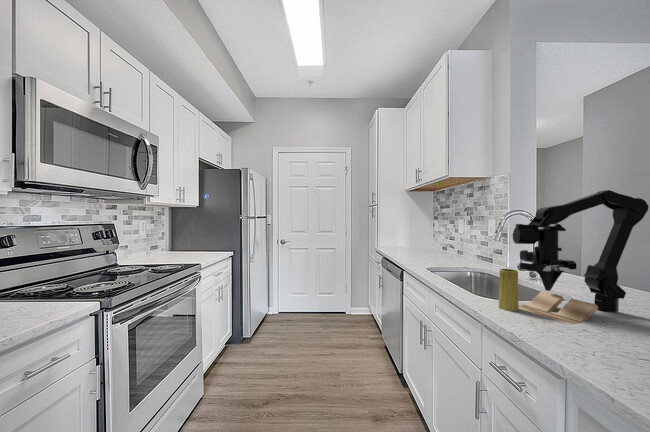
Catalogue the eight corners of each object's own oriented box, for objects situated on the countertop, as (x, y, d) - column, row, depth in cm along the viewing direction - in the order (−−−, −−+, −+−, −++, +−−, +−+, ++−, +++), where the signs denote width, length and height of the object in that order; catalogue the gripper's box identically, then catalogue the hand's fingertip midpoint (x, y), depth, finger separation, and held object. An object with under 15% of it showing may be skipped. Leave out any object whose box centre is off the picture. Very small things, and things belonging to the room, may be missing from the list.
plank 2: (573, 301, 106) (571, 298, 106) (598, 308, 99) (596, 304, 99) (557, 317, 104) (555, 314, 104) (582, 325, 97) (580, 321, 97)
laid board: (523, 309, 115) (523, 304, 115) (581, 327, 96) (581, 321, 96) (511, 310, 113) (511, 305, 113) (568, 329, 94) (568, 323, 94)
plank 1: (542, 294, 116) (541, 291, 116) (563, 299, 109) (562, 296, 109) (528, 309, 114) (526, 305, 114) (548, 315, 107) (546, 311, 107)
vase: (520, 316, 106) (521, 271, 106) (499, 314, 108) (499, 270, 108) (516, 311, 112) (517, 269, 112) (496, 309, 114) (496, 268, 114)
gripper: (547, 242, 123) (546, 284, 123) (506, 242, 118) (506, 287, 117) (577, 244, 112) (577, 290, 112) (534, 245, 107) (534, 294, 107)
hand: (547, 290), depth 112 cm, fingers closed
